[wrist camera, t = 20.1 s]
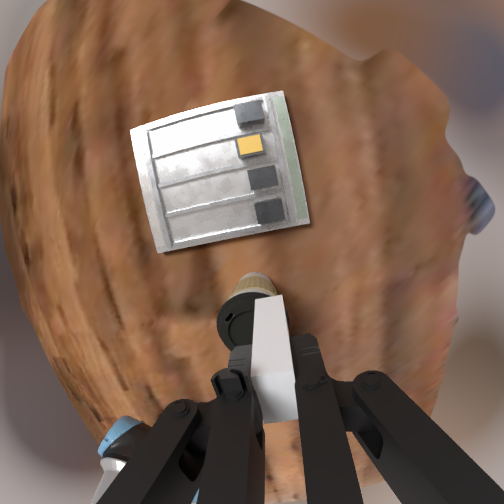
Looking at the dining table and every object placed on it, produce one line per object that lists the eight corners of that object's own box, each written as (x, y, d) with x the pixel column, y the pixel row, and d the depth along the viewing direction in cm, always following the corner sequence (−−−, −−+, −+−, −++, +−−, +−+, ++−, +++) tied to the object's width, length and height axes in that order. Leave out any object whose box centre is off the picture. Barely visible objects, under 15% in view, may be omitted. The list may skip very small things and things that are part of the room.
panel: (161, 250, 49) (149, 260, 43) (135, 131, 43) (119, 127, 37) (308, 221, 46) (314, 227, 41) (281, 94, 41) (284, 83, 35)
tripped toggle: (240, 159, 42) (238, 157, 38) (236, 141, 41) (233, 137, 37) (265, 154, 42) (266, 152, 38) (261, 135, 41) (261, 131, 37)
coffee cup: (261, 322, 52) (260, 372, 37) (217, 293, 50) (200, 337, 36) (294, 282, 49) (306, 324, 35) (248, 250, 48) (243, 282, 34)
